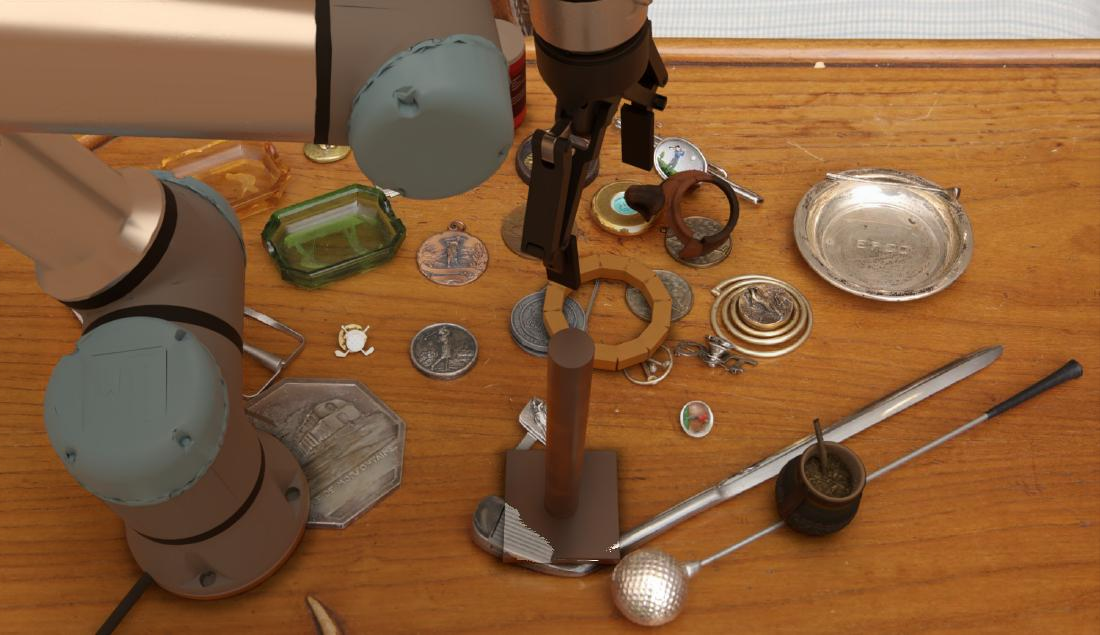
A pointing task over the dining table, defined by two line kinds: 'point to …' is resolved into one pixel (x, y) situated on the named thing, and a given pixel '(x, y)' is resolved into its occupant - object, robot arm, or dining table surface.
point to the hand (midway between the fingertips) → (602, 221)
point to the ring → (636, 277)
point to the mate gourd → (820, 487)
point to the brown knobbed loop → (671, 192)
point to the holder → (567, 466)
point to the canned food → (514, 66)
